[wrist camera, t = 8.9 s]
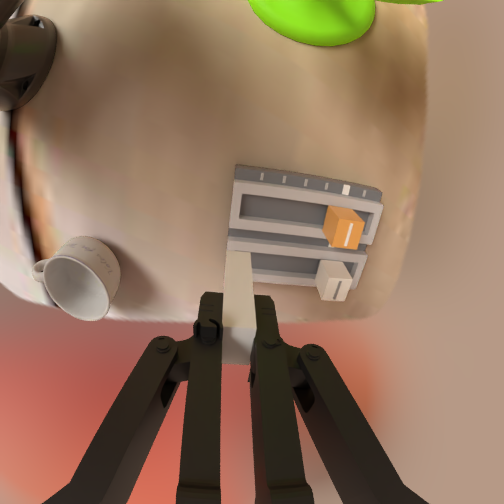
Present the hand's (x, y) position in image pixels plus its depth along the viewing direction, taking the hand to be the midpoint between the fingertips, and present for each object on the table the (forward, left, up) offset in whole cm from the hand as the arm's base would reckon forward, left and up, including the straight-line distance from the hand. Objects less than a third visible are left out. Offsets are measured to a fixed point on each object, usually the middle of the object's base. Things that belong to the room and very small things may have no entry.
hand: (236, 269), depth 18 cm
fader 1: (+1, +11, -15) cm, 19 cm away
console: (+4, +8, -17) cm, 19 cm away
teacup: (+12, -22, -17) cm, 30 cm away
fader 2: (+8, +12, -15) cm, 21 cm away
